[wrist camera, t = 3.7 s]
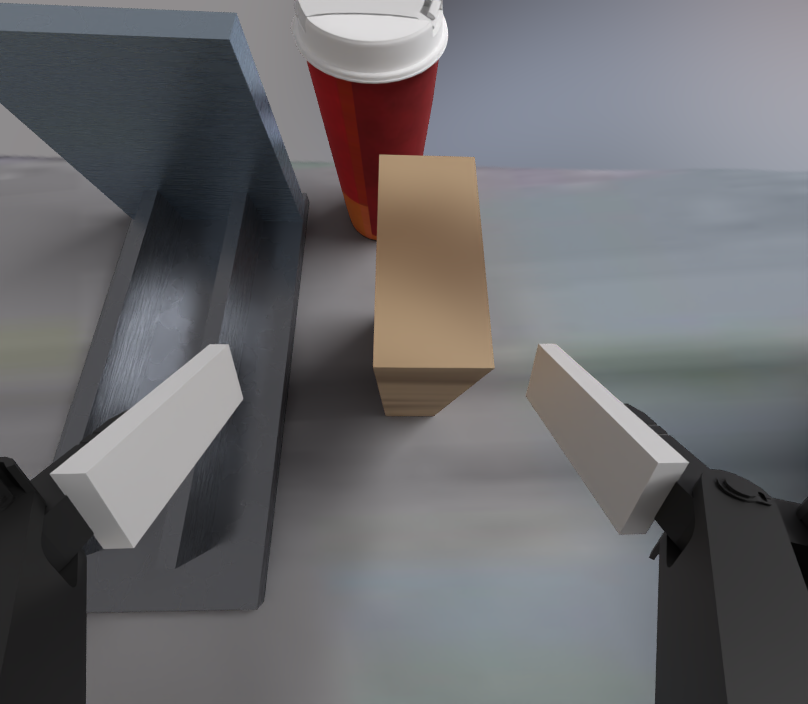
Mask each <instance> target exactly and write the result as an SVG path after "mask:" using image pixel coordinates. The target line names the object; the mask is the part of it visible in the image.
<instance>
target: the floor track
mask: <svg viewBox="0 0 808 704" xmlns="http://www.w3.org/2000/svg"><path fill="white" fill-rule="evenodd" d="M0 103H1V104H2V105H3V106H4V107H5V108H7V109H8V110H9V111H10V112H11V113H12V114H13V115H15V116H16V117H17V118H18V119H19V120H20V121H21V122H23V123H24V124H25V125H26V126H27V127H28V128H29V129H31V130H32V131H33V132H34V133H35V134H36V135H38V136H39V137H40V138H41V139H42V140H43V141H44V142H45V143H47V144H48V145H49V146H50V147H51V148H52V149H53V150H55V151H56V152H57V153H58V154H59V155H60V156H61V157H63V158H64V159H65V160H66V161H67V162H68V163H69V164H70V165H72V166H73V167H74V168H75V169H76V170H77V171H78V172H80V173H81V174H82V175H83V176H84V177H85V178H86V179H88V180H89V181H90V182H91V183H92V184H93V185H94V186H96V187H97V188H98V189H99V190H100V191H101V192H102V193H104V194H105V195H106V196H107V197H108V198H109V199H110V200H112V201H113V202H114V203H115V204H116V205H117V206H118V207H120V208H121V209H122V210H123V211H124V212H125V213H126V214H128V215H129V216H130V217H131V218H132V220H131V223H130V226H129V229H128V232H127V235H126V238H125V241H124V244H123V247H122V251H121V254H120V257H119V260H118V263H117V266H116V269H115V272H114V275H113V278H112V281H111V285H110V288H109V291H108V294H107V297H106V300H105V303H104V306H103V309H102V312H101V315H100V318H99V322H98V325H97V328H96V331H95V334H94V337H93V340H92V343H91V346H90V349H89V352H88V356H87V359H86V362H85V365H84V368H83V371H82V374H81V377H80V380H79V383H78V386H77V389H76V393H75V396H74V399H73V402H72V405H71V408H70V411H69V414H68V417H67V420H66V423H65V427H64V430H63V433H62V436H61V439H60V442H59V445H58V448H57V451H56V454H55V457H54V460H53V463H54V462H55V461H56V460H57V459H59V458H60V457H61V456H63V455H64V454H65V453H66V452H68V451H69V450H70V449H71V448H73V447H74V446H75V445H79V444H80V441H82V440H83V439H84V438H85V437H87V436H88V435H89V434H92V433H93V431H94V430H96V429H97V428H98V427H99V426H101V425H102V424H103V423H105V422H106V421H107V420H109V419H110V418H112V417H114V416H116V415H118V414H120V413H122V412H124V411H126V410H128V409H130V408H132V407H133V406H134V405H135V404H137V403H138V402H139V401H140V400H142V399H143V398H144V397H145V396H146V395H148V394H149V393H150V392H151V391H153V390H154V389H155V388H156V387H158V386H159V385H160V384H161V383H163V382H164V381H165V380H166V379H167V378H169V377H170V376H171V375H172V374H174V373H175V372H176V371H177V370H179V369H180V368H181V367H182V366H183V365H185V364H186V363H187V362H188V361H190V360H191V359H192V358H193V357H195V356H196V355H197V354H198V353H200V352H201V351H202V350H203V349H204V348H206V347H207V346H208V345H209V344H229V347H230V351H231V355H232V359H233V362H234V366H235V370H236V373H237V377H238V381H239V384H240V388H241V392H242V395H243V400H242V401H241V403H240V404H239V405H238V407H237V408H236V410H235V411H234V412H233V414H232V415H231V416H230V418H229V419H228V420H227V422H226V423H225V425H224V426H223V427H222V429H221V430H220V431H219V433H218V434H217V435H216V437H215V438H214V440H213V441H212V442H211V444H210V445H209V446H208V448H207V449H206V450H205V452H204V453H203V455H202V456H201V457H200V459H199V460H198V461H197V463H196V464H195V465H194V467H193V468H192V470H191V471H190V472H189V474H188V475H187V476H186V478H185V479H184V480H183V482H182V483H181V485H180V486H179V487H178V489H177V490H176V491H175V493H174V494H173V495H172V497H171V498H170V500H169V501H168V502H167V504H166V505H165V506H164V508H163V509H162V510H161V512H160V513H159V515H158V516H157V517H156V519H155V520H154V521H153V523H152V524H151V525H150V527H149V528H148V530H147V531H146V532H145V534H144V535H143V536H142V538H141V539H140V540H139V542H138V543H137V545H136V546H135V547H134V548H121V549H103V548H102V546H101V545H100V543H99V542H98V541H97V539H96V538H95V536H94V535H93V536H92V537H91V538H90V539H89V540H88V541H87V542H86V544H85V545H84V546H83V547H82V549H83V550H84V552H85V554H86V557H87V609H86V612H137V611H192V610H247V609H258V607H259V606H260V605H261V604H262V603H263V602H264V596H265V588H266V579H267V570H268V561H269V552H270V543H271V535H272V526H273V517H274V508H275V499H276V491H277V482H278V473H279V464H280V455H281V447H282V438H283V429H284V420H285V411H286V403H287V394H288V385H289V376H290V367H291V359H292V350H293V341H294V332H295V323H296V315H297V306H298V297H299V288H300V279H301V271H302V262H303V253H304V244H305V235H306V227H307V218H308V209H309V200H308V197H307V194H306V193H301V190H300V187H299V184H298V182H297V179H296V176H295V173H294V171H293V168H292V165H291V162H290V160H289V157H288V154H287V151H286V149H285V146H284V143H283V140H282V138H281V135H280V132H279V130H278V126H277V124H276V121H275V118H274V115H273V113H272V110H271V107H270V104H269V102H268V99H267V96H266V93H265V91H264V88H263V85H262V82H261V80H260V77H259V74H258V71H257V68H256V66H255V63H254V60H253V58H252V55H251V52H250V49H249V46H248V44H247V41H246V38H245V36H244V33H243V30H242V27H241V24H240V22H239V19H238V16H237V13H227V12H203V11H180V10H179V11H178V10H156V9H155V10H154V9H132V8H131V9H129V8H108V7H83V6H59V5H36V4H35V5H34V4H13V3H12V4H11V3H0Z"/></svg>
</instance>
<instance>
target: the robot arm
mask: <svg viewBox="0 0 808 704" xmlns="http://www.w3.org/2000/svg"><path fill="white" fill-rule="evenodd" d="M526 397H527V399H528V400H529V402H530V403H531V405H532V406H533V408H534V409H535V411H536V412H537V414H538V415H539V417H540V418H541V419H542V421H543V422H544V424H545V425H546V427H547V428H548V430H549V431H550V433H551V434H552V436H553V437H554V439H555V440H556V442H557V443H558V445H559V446H560V448H561V449H562V450H563V452H564V453H565V455H566V456H567V458H568V459H569V461H570V462H571V464H572V465H573V467H574V468H575V470H576V471H577V473H578V474H579V476H580V477H581V479H582V480H583V482H584V483H585V484H586V486H587V487H588V489H589V490H590V492H591V493H592V495H593V496H594V498H595V499H596V501H597V502H598V504H599V505H600V507H601V508H602V510H603V511H604V513H605V514H606V515H607V517H608V518H609V520H610V521H611V523H612V524H613V526H614V527H615V529H616V530H617V532H618V533H619V535H624V534H646V533H647V531H648V530H649V528H650V526H651V525H652V523H653V521H654V520H656V521H657V523H658V524H659V525H660V526H661V528H662V529H663V530H664V533H663V535H662V536H661V538H660V539H659V541H658V542H657V544H656V545H655V547H654V548H653V550H652V552H651V554H650V556H649V558H651V559H653V560H654V559H655V558H656V556H657V555H658V554H659V585H658V620H657V654H656V688H655V704H808V497H807V498H806V499H805V500H804V502H803V503H802V504H798V503H794V502H789V501H785V500H780V499H776V498H772V497H771V496H769V495H768V494H767V493H766V492H765V491H764V490H763V489H761V488H760V487H758V486H757V485H755V484H753V483H752V482H750V481H749V480H747V479H744V478H742V477H740V476H738V475H736V474H733V473H730V472H726V471H723V470H715V469H709V468H708V467H707V466H706V465H704V464H703V463H702V462H701V461H700V460H699V459H697V458H696V457H695V456H694V455H693V454H692V453H690V452H689V451H688V450H687V449H686V448H684V447H683V446H682V445H681V444H680V443H679V442H677V441H676V440H675V439H674V438H673V437H672V436H670V435H668V434H667V432H666V431H665V430H663V429H662V428H661V427H660V426H657V424H656V423H655V422H654V421H653V420H652V419H650V418H649V417H648V416H647V415H646V414H645V413H643V412H641V411H640V410H638V409H636V408H634V407H632V406H631V405H629V404H623V403H622V402H621V401H619V400H618V399H617V398H616V397H615V396H614V395H613V394H612V393H610V392H609V391H608V390H607V389H606V388H605V387H604V386H603V385H601V384H600V383H599V382H598V381H597V380H596V379H595V378H594V377H592V376H591V375H590V374H589V373H588V372H587V371H586V370H585V369H583V368H582V367H581V366H580V365H579V364H578V363H577V362H576V361H574V360H573V359H572V358H571V357H570V356H569V355H568V354H567V353H565V352H564V351H563V350H562V349H561V348H560V347H559V346H558V345H556V344H538V348H537V352H536V356H535V361H534V365H533V369H532V373H531V377H530V381H529V386H528V390H527V394H526ZM242 400H243V395H242V392H241V388H240V384H239V381H238V377H237V373H236V370H235V366H234V362H233V359H232V355H231V351H230V347H229V344H209V345H208V346H207V347H206V348H204V349H203V350H202V351H201V352H200V353H198V354H197V355H196V356H195V357H193V358H192V359H191V360H190V361H188V362H187V363H186V364H185V365H183V366H182V367H181V368H180V369H179V370H177V371H176V372H175V373H174V374H172V375H171V376H170V377H169V378H167V379H166V380H165V381H164V382H163V383H161V384H160V385H159V386H158V387H156V388H155V389H154V390H153V391H151V392H150V393H149V394H148V395H146V396H145V397H144V398H143V399H142V400H140V401H139V402H138V403H137V404H135V405H134V406H133V407H132V408H130V409H128V410H126V411H124V412H122V413H120V414H118V415H116V416H114V417H112V418H110V419H109V420H107V421H106V422H105V423H103V424H102V425H101V426H99V427H98V428H97V429H96V430H94V431H93V433H92V434H89V435H88V436H87V437H85V438H84V439H83V440H82V441H80V444H79V445H75V446H74V447H73V448H71V449H70V450H69V451H68V452H66V453H65V454H64V455H63V456H61V457H60V458H59V459H57V460H56V461H55V462H54V463H52V464H51V465H50V466H49V467H47V468H46V469H45V470H43V471H42V472H41V473H40V474H38V475H37V476H36V477H35V478H33V479H32V480H31V481H30V480H29V479H28V478H27V477H26V475H25V474H24V473H23V471H22V470H21V469H20V468H19V466H18V465H17V464H16V462H15V461H14V460H13V459H11V458H7V457H0V704H86V609H87V557H86V554H85V552H84V550H83V549H82V547H83V546H84V545H85V544H86V542H87V541H88V540H89V539H90V538H91V537H92V536H93V535H94V536H95V538H96V539H97V541H98V542H99V543H100V545H101V546H102V548H103V549H121V548H134V547H135V546H136V545H137V543H138V542H139V540H140V539H141V538H142V536H143V535H144V534H145V532H146V531H147V530H148V528H149V527H150V525H151V524H152V523H153V521H154V520H155V519H156V517H157V516H158V515H159V513H160V512H161V510H162V509H163V508H164V506H165V505H166V504H167V502H168V501H169V500H170V498H171V497H172V495H173V494H174V493H175V491H176V490H177V489H178V487H179V486H180V485H181V483H182V482H183V480H184V479H185V478H186V476H187V475H188V474H189V472H190V471H191V470H192V468H193V467H194V465H195V464H196V463H197V461H198V460H199V459H200V457H201V456H202V455H203V453H204V452H205V450H206V449H207V448H208V446H209V445H210V444H211V442H212V441H213V440H214V438H215V437H216V435H217V434H218V433H219V431H220V430H221V429H222V427H223V426H224V425H225V423H226V422H227V420H228V419H229V418H230V416H231V415H232V414H233V412H234V411H235V410H236V408H237V407H238V405H239V404H240V403H241V401H242Z"/></svg>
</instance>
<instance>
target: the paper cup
mask: <svg viewBox="0 0 808 704" xmlns="http://www.w3.org/2000/svg"><path fill="white" fill-rule="evenodd" d="M294 9H295V13H296V14H295V16H294V18H293V20H292V24H291V31H292V34H293V37H294V40H295V43H296V46H297V48H298V50H299V51H300V53H301V54H302V56H303V57H304V58H305V59H306V60H307V64H308V67H309V71H310V75H311V78H312V82H313V86H314V90H315V93H316V97H317V101H318V104H319V108H320V112H321V115H322V119H323V122H324V126H325V130H326V134H327V137H328V141H329V145H330V148H331V152H332V156H333V159H334V163H335V167H336V170H337V174H338V178H339V181H340V185H341V188H342V192H343V196H344V199H345V203H346V206H347V209H348V213H349V216H350V219H351V222H352V224H353V226H354V228H355V229H356V230H357V231H358V232H359V233H360V234H361V235H363V236H365V237H367V238H369V239H372V240H377V216H378V182H379V155H415V156H423V151H424V146H425V140H426V135H427V129H428V124H429V118H430V113H431V107H432V101H433V95H434V87H435V81H436V73H437V67H438V60H439V58H440V57H441V55H442V54H443V52H444V50H445V48H446V45H447V40H448V29H447V24H446V21H445V17H444V16H443V0H294Z"/></svg>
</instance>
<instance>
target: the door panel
mask: <svg viewBox="0 0 808 704" xmlns="http://www.w3.org/2000/svg"><path fill="white" fill-rule="evenodd" d="M373 369H374V373H375V377H376V381H377V385H378V388H379V392H380V396H381V400H382V404H383V408H384V411H385V415H386V416H435V415H436V414H437V413H438V412H440V411H441V410H442V409H443V408H445V407H446V406H447V405H448V404H450V403H451V402H452V401H453V400H455V399H456V398H457V397H459V396H460V395H461V394H462V393H464V392H465V391H466V390H467V389H469V388H470V387H471V386H472V385H474V384H475V383H476V382H478V381H479V380H480V379H481V378H483V377H484V376H485V375H486V374H488V373H489V372H490V371H491V370H493V369H494V358H493V347H492V337H491V326H490V315H489V305H488V294H487V283H486V273H485V262H484V251H483V241H482V230H481V219H480V209H479V198H478V187H477V177H476V166H475V158H474V157H451V156H450V157H449V156H415V155H379V182H378V216H377V250H376V283H375V317H374V351H373Z"/></svg>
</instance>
